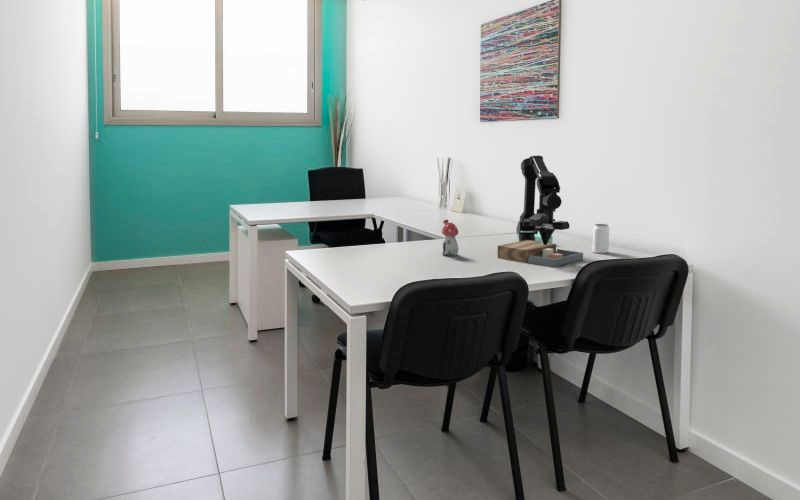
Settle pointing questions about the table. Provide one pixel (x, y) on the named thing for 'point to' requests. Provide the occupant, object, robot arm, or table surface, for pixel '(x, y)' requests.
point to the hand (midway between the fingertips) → (545, 244)
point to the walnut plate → (523, 250)
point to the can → (600, 238)
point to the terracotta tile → (555, 256)
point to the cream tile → (547, 252)
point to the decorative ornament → (450, 239)
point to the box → (566, 259)
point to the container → (539, 239)
